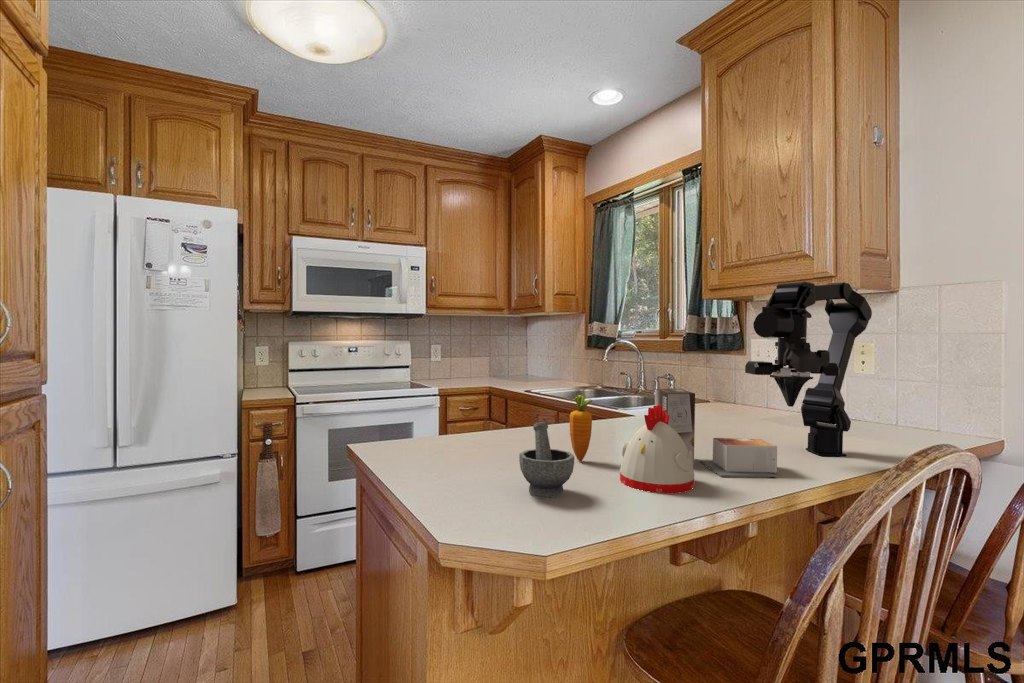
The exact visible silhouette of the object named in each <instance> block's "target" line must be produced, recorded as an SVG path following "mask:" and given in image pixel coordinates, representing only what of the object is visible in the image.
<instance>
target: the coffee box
mask: <svg viewBox="0 0 1024 683" xmlns="http://www.w3.org/2000/svg"><path fill="white" fill-rule="evenodd" d="M657 405H662V410H666V415H670V416H669V422H668V425H669V426H670V427H671V428H673V429H674V430H675V431H676V432H677V433H678V434H679V436H680V437H681V438H682V440H683V442H684V443H685V445H686V447H687V449H688V451H690V450H691V451H692V458H693V467H694V466H695V428H696V427H695V425H696V424H695V421H696V417H695V416H696V393H695V392H691V391H688V390H685V389H682V388H655V389H654V406H657Z"/></svg>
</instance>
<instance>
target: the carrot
mask: <svg viewBox="0 0 1024 683" xmlns="http://www.w3.org/2000/svg"><path fill="white" fill-rule="evenodd" d="M585 400H586V396H585V395H581V394H579V395H577V396H576V397H575V398H574V401H575V403H576V406H577V409H576V410H573V411H571V412H570V414H569V435H570V442H571V446H572V447H571V448H572V450H573V453H574V455H575V457H576V460H577V461H578V462H580V461H581V462H582V461H583V460H584V459H585V457H586V455H587V452H588V450H589V446H590V442H591V437H592V425H593V415H592V413H591V412H590V411H588V410H585V409H586V407H587V406H588V405H589V404H590V403H592V402H593V400H592V399H591V398H590V399H588V400H586V401H585Z"/></svg>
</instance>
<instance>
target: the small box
mask: <svg viewBox="0 0 1024 683" xmlns="http://www.w3.org/2000/svg"><path fill="white" fill-rule="evenodd" d="M712 440H713V441H712V460H713V463H715V464H717V465H718V466H720V467H721V468H723V469H724V470H725V471H726V472H770V473H777V472H778V446H777V445H775V444H773V443H770V442H768V441H765V440H764V439H762V438H739V437H738V438H733V437H731V438H730V437H713V439H712Z"/></svg>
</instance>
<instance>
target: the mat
mask: <svg viewBox="0 0 1024 683" xmlns="http://www.w3.org/2000/svg"><path fill="white" fill-rule="evenodd" d="M699 462H700V464H702V463H703V464H704V466H705V465H706V466H707V467H706V466H705V467H706V468H708V469H709V468H710V469H711V470H710V469H709V470H710V471H712V472H713V471H714V472H715V473H714V472H713V473H714V474H716V473H717V474H718V475H717V474H716V475H717V476H718V477H720V476H721V477H720V478H750V477H777V476H776V475H775V474H773V473H772V472H726V471H725V470H724V469H723V468H721V467H720V466H718V465H717V464H715V463H713V459H711V460H710V459H706V460H704V459H700V460H699ZM703 464H702V465H703Z"/></svg>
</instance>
